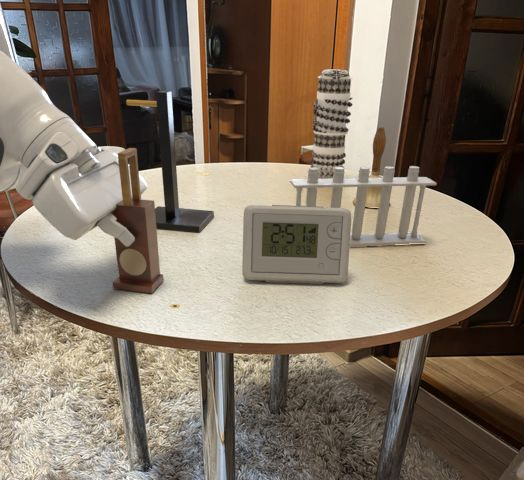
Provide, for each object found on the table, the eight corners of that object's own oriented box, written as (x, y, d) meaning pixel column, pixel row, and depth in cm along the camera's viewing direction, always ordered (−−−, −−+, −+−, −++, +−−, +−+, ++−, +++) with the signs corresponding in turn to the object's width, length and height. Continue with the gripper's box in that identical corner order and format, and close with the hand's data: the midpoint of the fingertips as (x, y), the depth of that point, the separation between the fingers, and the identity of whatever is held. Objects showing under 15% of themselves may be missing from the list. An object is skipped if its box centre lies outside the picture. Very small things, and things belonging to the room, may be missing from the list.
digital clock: (237, 282, 77) (236, 212, 72) (251, 260, 85) (252, 195, 79) (344, 294, 75) (352, 223, 69) (349, 271, 82) (357, 205, 76)
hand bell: (390, 210, 110) (403, 131, 102) (352, 207, 112) (361, 128, 103) (389, 199, 117) (401, 124, 109) (353, 197, 119) (361, 122, 110)
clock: (113, 288, 74) (94, 153, 64) (127, 275, 78) (112, 146, 68) (152, 293, 73) (139, 157, 63) (164, 280, 77) (154, 149, 67)
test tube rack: (415, 236, 97) (428, 163, 90) (425, 244, 93) (440, 169, 86) (285, 240, 93) (289, 165, 86) (290, 249, 89) (294, 171, 82)
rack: (129, 226, 98) (113, 92, 85) (149, 211, 106) (137, 87, 94) (199, 232, 96) (193, 96, 83) (214, 216, 104) (210, 90, 92)
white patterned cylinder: (351, 181, 131) (363, 70, 117) (330, 188, 125) (341, 72, 111) (322, 175, 136) (331, 68, 122) (301, 181, 130) (307, 69, 116)
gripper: (88, 159, 79) (154, 227, 82) (7, 194, 62) (93, 277, 65) (112, 130, 76) (178, 202, 79) (33, 158, 59) (122, 248, 62)
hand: (140, 236), depth 72 cm, fingers closed on clock, 3 cm apart
